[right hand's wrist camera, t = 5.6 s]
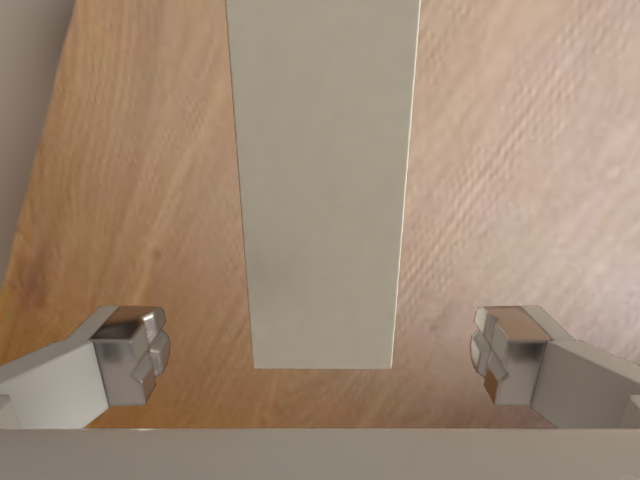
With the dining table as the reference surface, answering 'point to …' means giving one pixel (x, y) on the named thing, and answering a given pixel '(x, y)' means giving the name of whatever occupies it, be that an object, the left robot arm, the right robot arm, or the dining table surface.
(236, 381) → the dining table surface
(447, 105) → the dining table surface
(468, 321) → the dining table surface
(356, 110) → the bar
